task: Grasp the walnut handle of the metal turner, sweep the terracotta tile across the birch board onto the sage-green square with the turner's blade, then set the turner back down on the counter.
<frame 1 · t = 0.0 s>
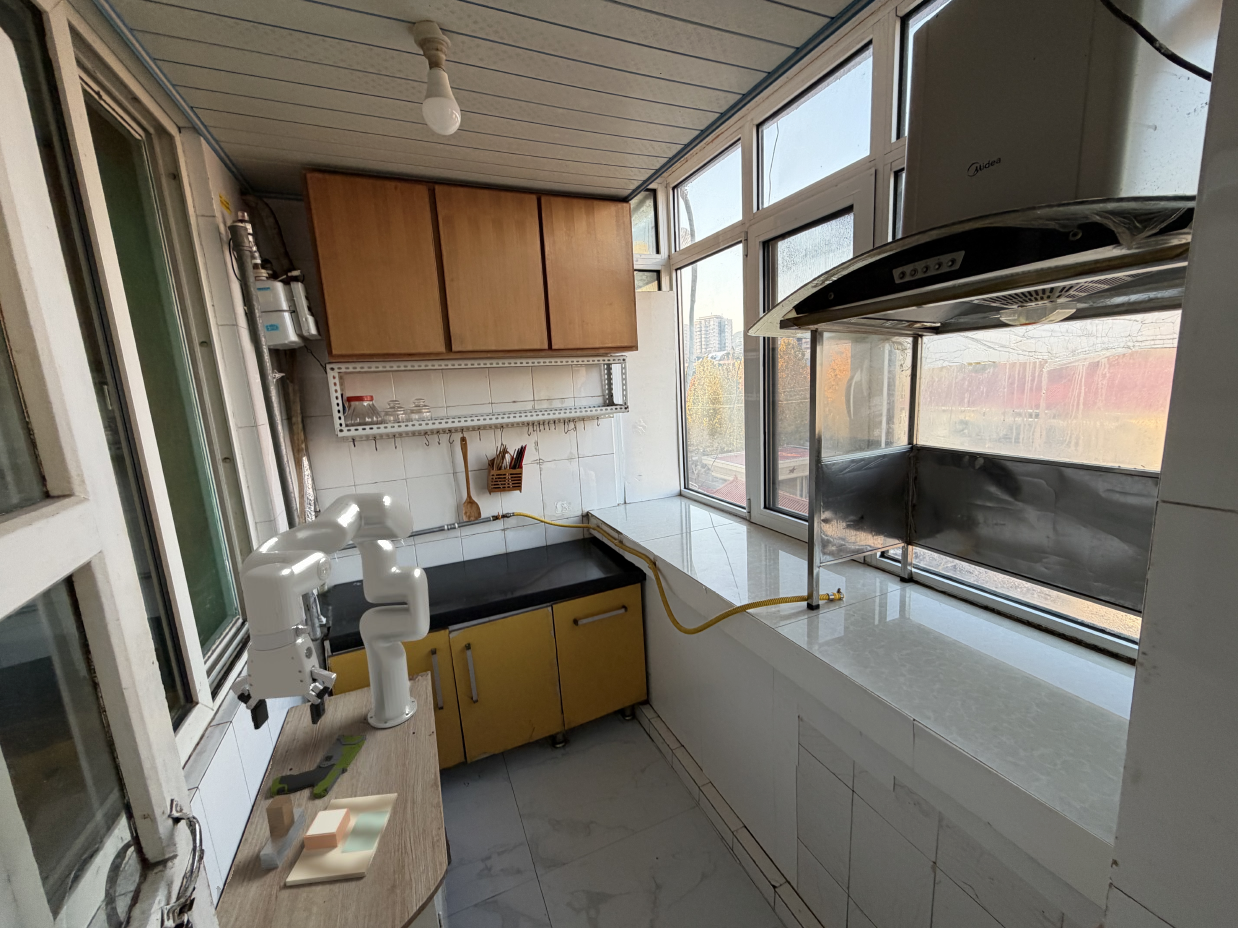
hand: (290, 721, 89), 31 cm above the table, tool pointing down, fingers open, 9 cm apart
board: (347, 836, 100), on the table
tile: (328, 834, 100), point 1 cm above the table, touching board
gun: (320, 768, 119), on the table
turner: (285, 844, 99), on the table
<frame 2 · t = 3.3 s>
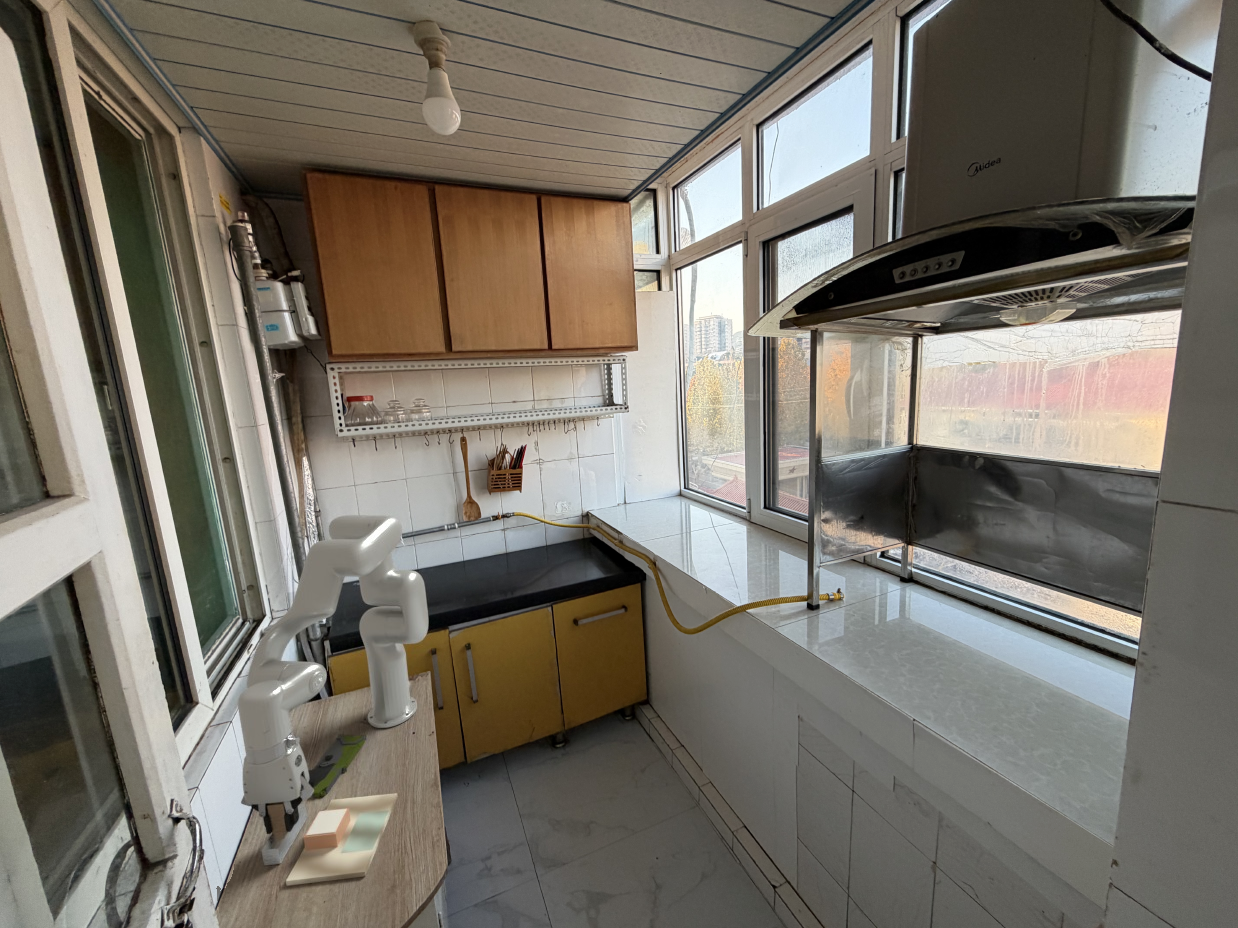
hand: (282, 825, 98), 4 cm above the table, tool pointing down, fingers closed on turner, 3 cm apart
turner: (286, 840, 99), on the table, touching gripper
everything else where it was.
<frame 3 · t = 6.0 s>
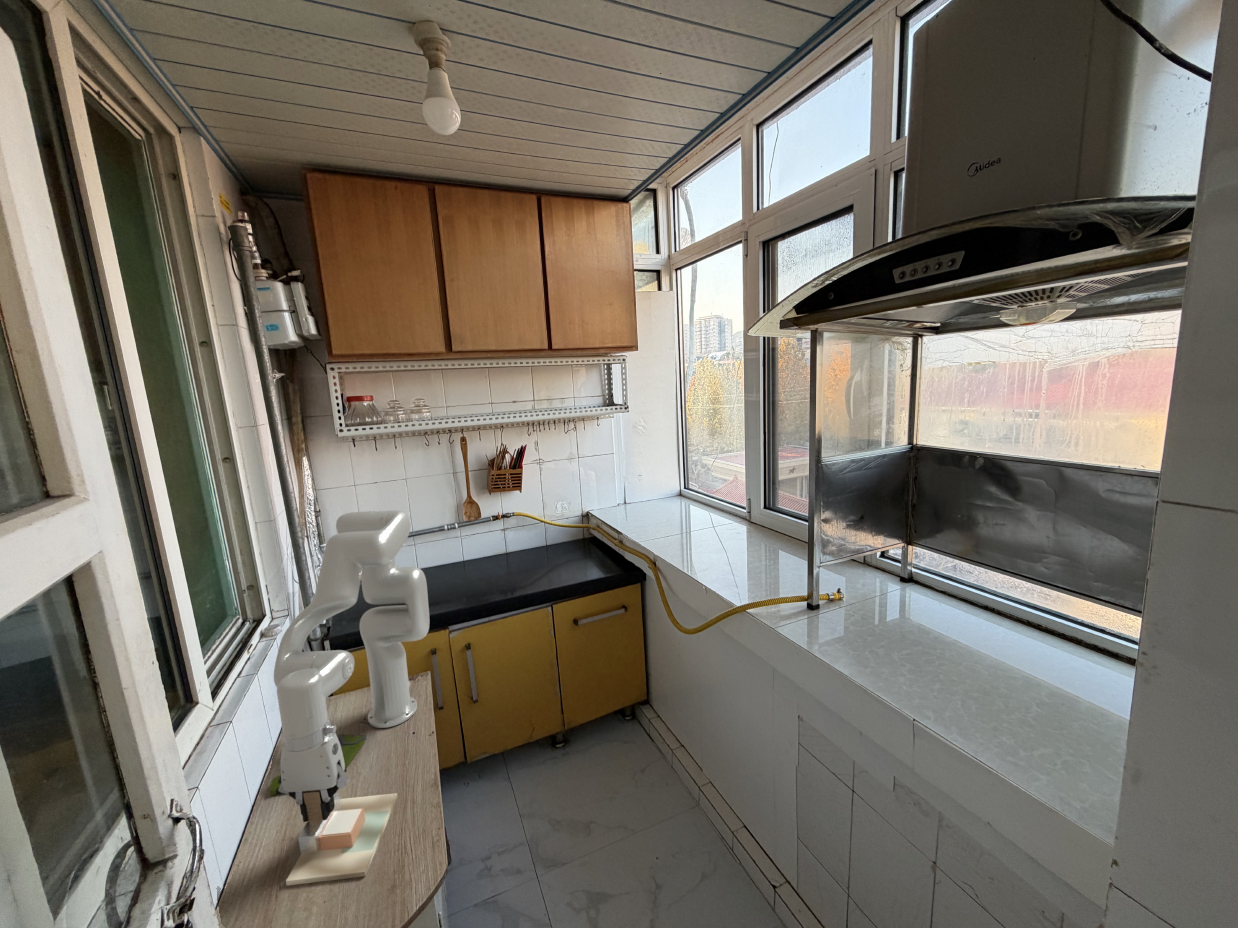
hand: (318, 814, 99), 6 cm above the table, tool pointing down, fingers closed on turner, 3 cm apart
tile: (344, 834, 99), point 1 cm above the table, touching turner
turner: (321, 828, 100), point 2 cm above the table, touching gripper, tile
everything else where it was.
when the fingers open (6 cm above the table, at t = 12.9 s): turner drops 2 cm, on the table.
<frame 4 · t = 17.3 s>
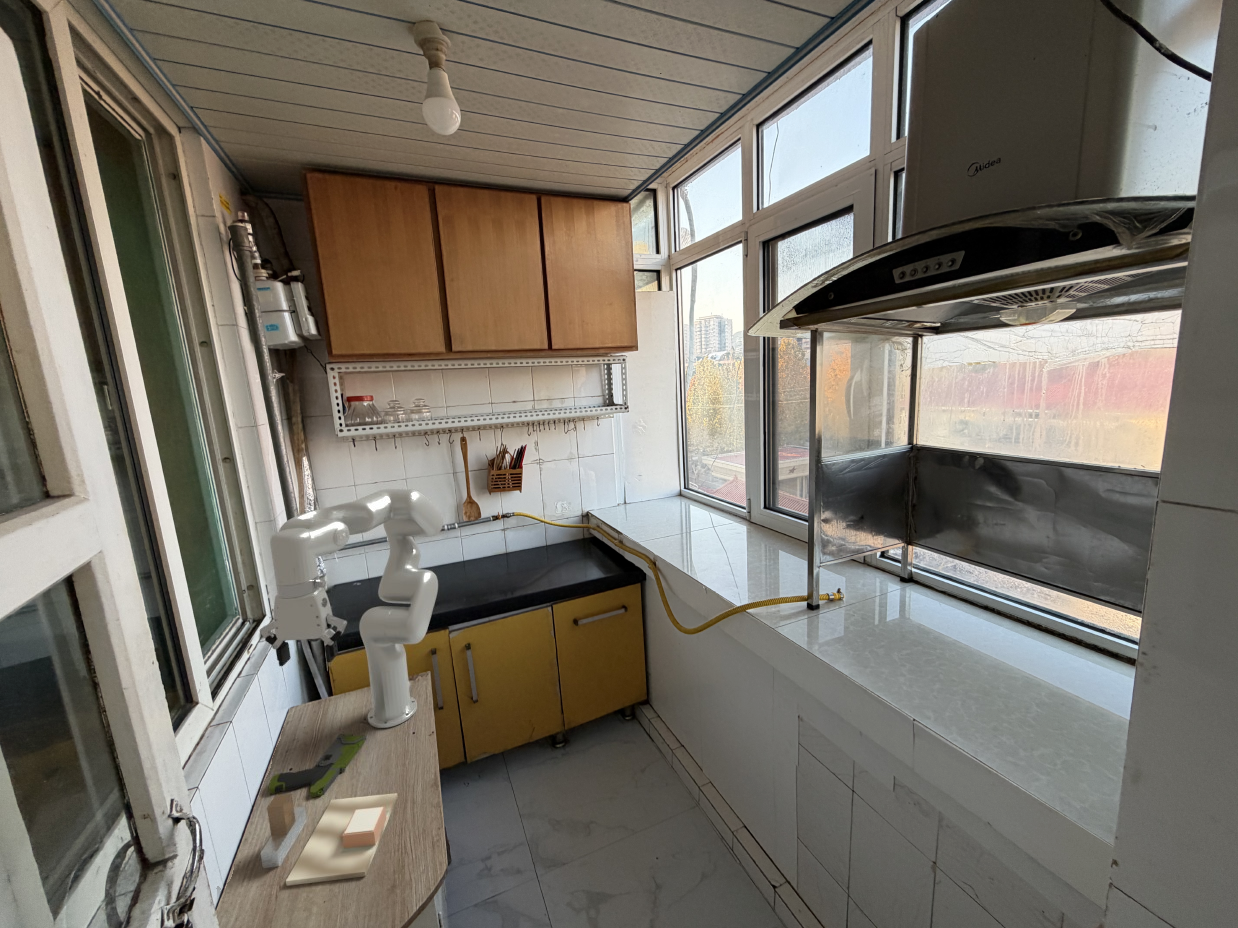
hand: (308, 660, 107), 32 cm above the table, tool pointing down, fingers open, 9 cm apart
tile: (365, 832, 100), point 1 cm above the table, touching board
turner: (286, 843, 99), on the table
everything else where it was.
at the end: tile inside the target area (0.8 cm from its centre), point 1.0 cm above the table; tile tilted 0°; the gripper is holding nothing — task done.
